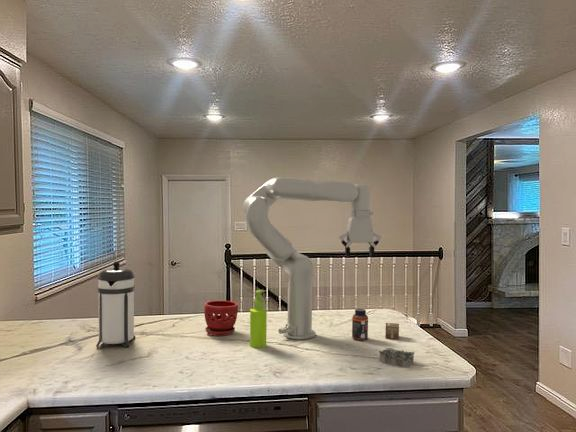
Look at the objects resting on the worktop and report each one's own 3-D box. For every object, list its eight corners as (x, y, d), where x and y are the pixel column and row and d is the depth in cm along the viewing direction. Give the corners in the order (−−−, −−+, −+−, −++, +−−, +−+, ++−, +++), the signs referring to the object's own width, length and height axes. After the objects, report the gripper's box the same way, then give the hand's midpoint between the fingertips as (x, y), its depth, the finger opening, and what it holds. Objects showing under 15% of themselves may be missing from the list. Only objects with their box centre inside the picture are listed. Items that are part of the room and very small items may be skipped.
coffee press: (148, 343, 169) (148, 261, 168) (106, 353, 157) (105, 265, 156) (125, 333, 181) (125, 257, 180) (84, 342, 169) (83, 260, 168)
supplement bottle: (367, 341, 173) (367, 311, 173) (351, 340, 175) (351, 310, 174) (368, 337, 179) (368, 308, 179) (352, 336, 180) (353, 307, 180)
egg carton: (377, 363, 151) (377, 350, 151) (384, 356, 158) (385, 344, 157) (409, 369, 146) (409, 356, 146) (416, 362, 152) (416, 350, 152)
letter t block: (398, 340, 176) (399, 326, 176) (385, 338, 177) (385, 325, 177) (398, 336, 181) (398, 323, 181) (385, 335, 182) (385, 322, 182)
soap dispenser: (270, 343, 170) (270, 289, 169) (261, 349, 163) (262, 292, 163) (256, 341, 172) (256, 288, 171) (247, 346, 166) (247, 291, 165)
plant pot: (228, 339, 175) (229, 307, 174) (198, 335, 179) (198, 304, 178) (243, 330, 187) (243, 300, 187) (214, 327, 191) (214, 298, 191)
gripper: (377, 214, 191) (377, 255, 191) (337, 214, 188) (336, 255, 189) (384, 215, 184) (383, 257, 184) (341, 214, 181) (341, 258, 182)
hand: (359, 256), depth 186 cm, fingers open, 9 cm apart
